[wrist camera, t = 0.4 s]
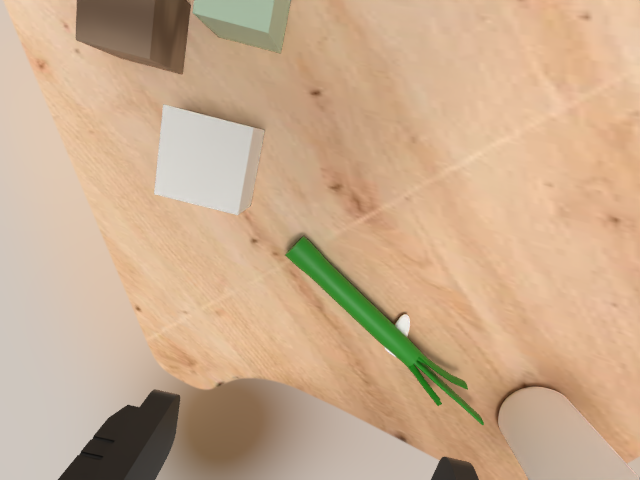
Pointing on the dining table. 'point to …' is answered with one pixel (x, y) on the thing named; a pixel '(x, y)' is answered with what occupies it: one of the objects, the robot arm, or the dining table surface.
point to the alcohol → (557, 439)
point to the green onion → (375, 321)
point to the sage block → (246, 20)
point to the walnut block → (136, 30)
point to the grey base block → (207, 160)
